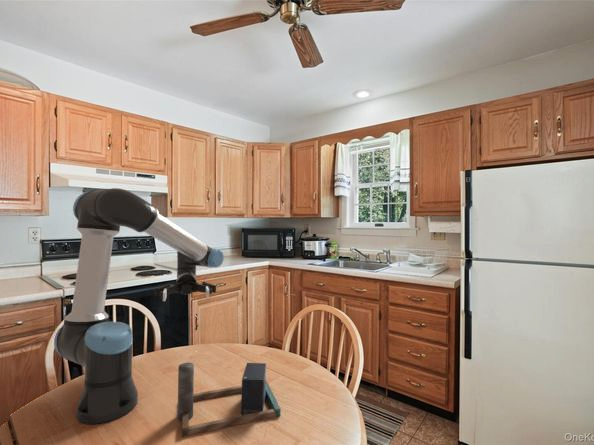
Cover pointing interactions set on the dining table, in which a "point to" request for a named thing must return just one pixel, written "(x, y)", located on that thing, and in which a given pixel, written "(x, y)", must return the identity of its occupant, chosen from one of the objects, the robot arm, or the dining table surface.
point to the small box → (253, 388)
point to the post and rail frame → (188, 397)
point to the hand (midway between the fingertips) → (186, 295)
